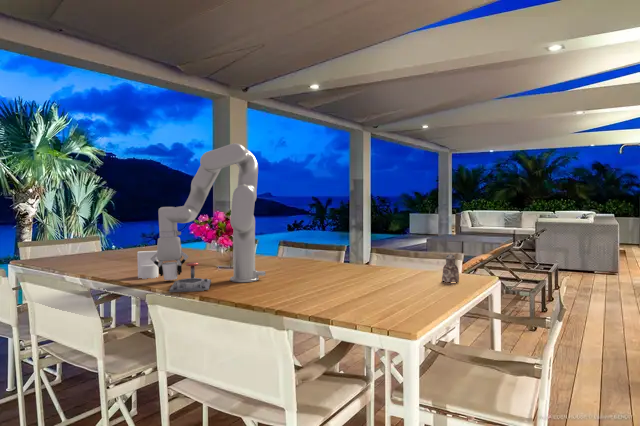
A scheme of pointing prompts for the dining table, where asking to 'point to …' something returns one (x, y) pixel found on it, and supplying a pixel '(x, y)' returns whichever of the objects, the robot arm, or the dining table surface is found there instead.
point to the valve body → (191, 282)
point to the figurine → (450, 270)
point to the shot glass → (170, 270)
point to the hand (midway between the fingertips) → (170, 274)
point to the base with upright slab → (147, 265)
